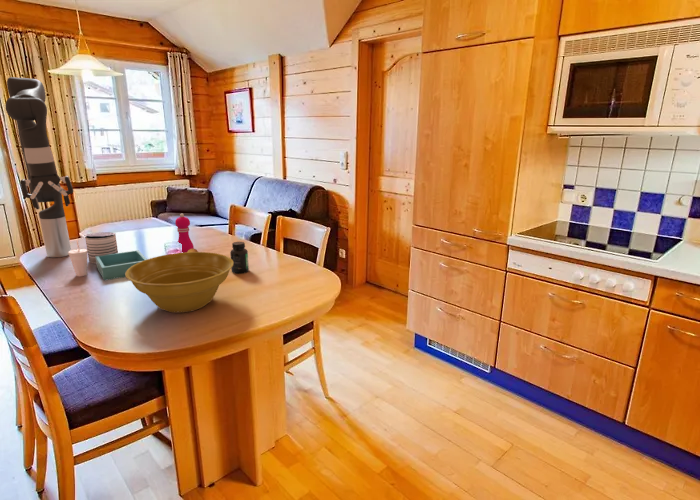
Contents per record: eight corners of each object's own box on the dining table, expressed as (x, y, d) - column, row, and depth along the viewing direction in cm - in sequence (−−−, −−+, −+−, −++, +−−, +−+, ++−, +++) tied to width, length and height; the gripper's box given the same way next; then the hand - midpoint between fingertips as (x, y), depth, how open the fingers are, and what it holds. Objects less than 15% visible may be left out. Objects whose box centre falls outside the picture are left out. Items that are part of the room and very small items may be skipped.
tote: (97, 267, 170) (95, 256, 169) (139, 261, 179) (138, 250, 178) (104, 280, 156) (102, 267, 155) (149, 272, 166) (148, 260, 164)
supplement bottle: (252, 271, 169) (250, 243, 166) (237, 275, 164) (235, 246, 161) (242, 267, 174) (241, 239, 170) (228, 271, 169) (226, 242, 165)
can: (82, 261, 178) (78, 234, 174) (106, 254, 188) (102, 229, 184) (101, 265, 174) (97, 237, 170) (125, 257, 184) (121, 231, 180)
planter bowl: (126, 334, 116) (120, 289, 112) (133, 293, 144) (128, 256, 141) (243, 316, 129) (241, 275, 125) (228, 282, 157) (226, 248, 153)
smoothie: (82, 278, 158) (76, 242, 154) (67, 276, 159) (61, 241, 156) (95, 272, 164) (89, 238, 160) (81, 271, 165) (75, 237, 162)
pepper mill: (197, 255, 188) (194, 212, 183) (187, 260, 182) (182, 215, 176) (184, 254, 191) (180, 211, 185) (173, 258, 184) (169, 214, 178)
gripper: (66, 157, 146) (77, 202, 152) (16, 160, 139) (29, 207, 145) (64, 160, 140) (75, 207, 145) (12, 164, 133) (26, 212, 139)
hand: (52, 207), depth 145 cm, fingers open, 8 cm apart
